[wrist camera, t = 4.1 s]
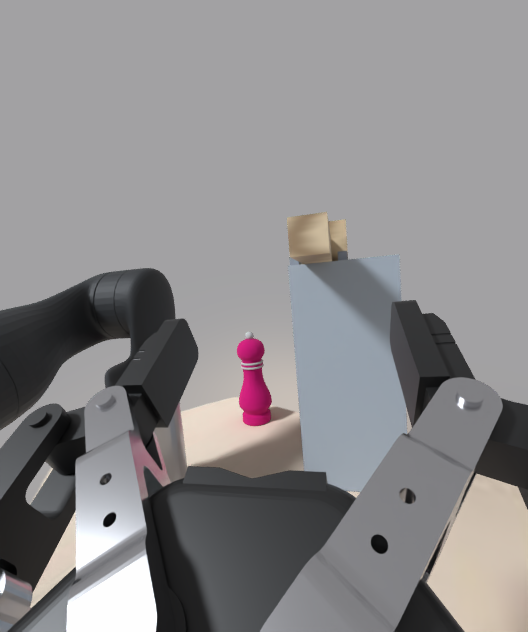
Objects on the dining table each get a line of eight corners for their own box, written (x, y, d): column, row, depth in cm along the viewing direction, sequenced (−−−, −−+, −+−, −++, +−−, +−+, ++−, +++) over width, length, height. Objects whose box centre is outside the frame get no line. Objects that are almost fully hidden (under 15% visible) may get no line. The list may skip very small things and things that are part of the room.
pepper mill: (259, 410, 74) (252, 328, 72) (279, 418, 68) (272, 330, 67) (234, 420, 70) (226, 333, 68) (254, 430, 64) (245, 335, 62)
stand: (305, 487, 45) (287, 256, 42) (311, 447, 55) (297, 261, 52) (409, 495, 41) (398, 244, 38) (395, 451, 52) (385, 252, 49)
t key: (266, 259, 29) (261, 194, 28) (298, 268, 52) (295, 232, 52) (355, 250, 27) (351, 180, 27) (346, 263, 50) (344, 226, 50)
